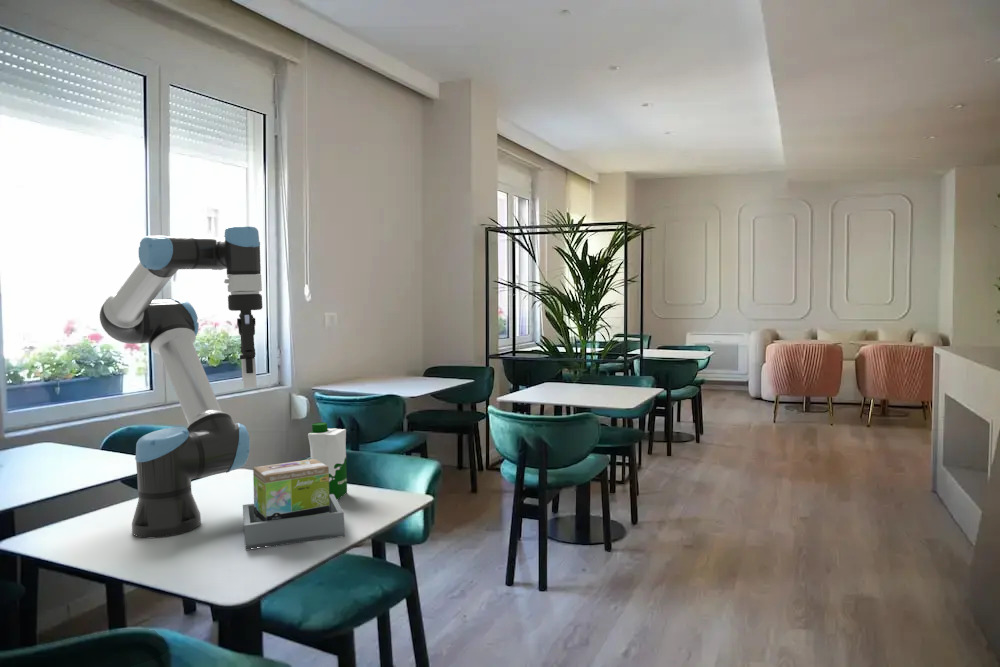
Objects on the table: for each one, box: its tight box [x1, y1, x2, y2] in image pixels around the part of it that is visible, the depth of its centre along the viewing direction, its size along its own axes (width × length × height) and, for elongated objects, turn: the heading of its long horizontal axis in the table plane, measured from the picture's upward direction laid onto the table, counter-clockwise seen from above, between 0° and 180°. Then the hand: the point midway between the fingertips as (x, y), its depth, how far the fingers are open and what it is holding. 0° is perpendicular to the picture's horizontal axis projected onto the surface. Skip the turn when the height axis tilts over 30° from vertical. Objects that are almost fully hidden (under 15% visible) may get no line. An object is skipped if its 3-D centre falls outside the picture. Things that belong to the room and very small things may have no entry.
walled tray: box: [242, 494, 345, 550], centre depth 173 cm, size 16×21×6 cm
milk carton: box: [307, 421, 348, 500], centre depth 201 cm, size 9×9×20 cm
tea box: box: [252, 458, 330, 522], centre depth 172 cm, size 15×10×15 cm
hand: (249, 384), depth 173 cm, fingers open, 13 cm apart
